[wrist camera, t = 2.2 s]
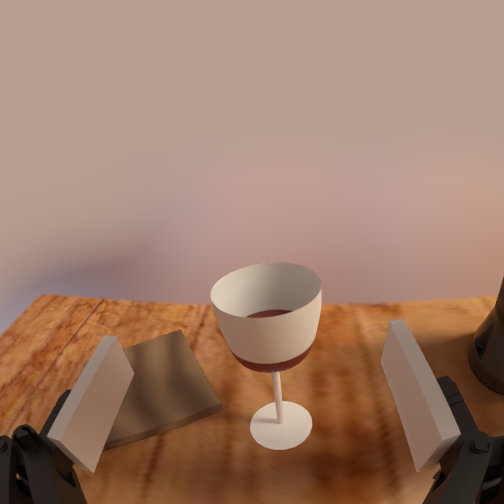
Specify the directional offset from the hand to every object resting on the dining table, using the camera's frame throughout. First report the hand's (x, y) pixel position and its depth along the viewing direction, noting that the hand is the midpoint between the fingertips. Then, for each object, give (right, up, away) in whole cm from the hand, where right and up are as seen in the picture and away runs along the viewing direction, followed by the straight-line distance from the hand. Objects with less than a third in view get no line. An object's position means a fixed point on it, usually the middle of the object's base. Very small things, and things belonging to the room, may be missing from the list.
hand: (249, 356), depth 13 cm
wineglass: (+4, -16, +19) cm, 25 cm away
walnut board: (-16, -15, +26) cm, 34 cm away
